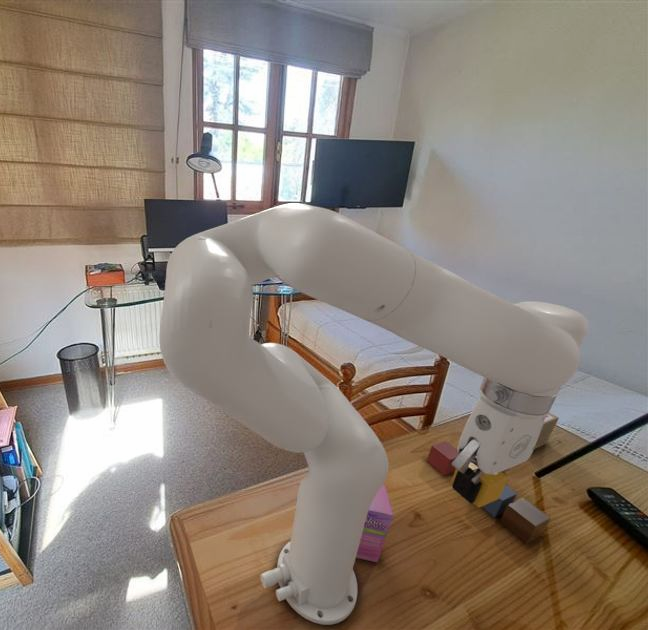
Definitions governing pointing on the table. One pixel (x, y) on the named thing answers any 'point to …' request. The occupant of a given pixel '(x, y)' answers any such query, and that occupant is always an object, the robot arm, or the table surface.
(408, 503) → the table surface
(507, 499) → the cube
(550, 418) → the ink box
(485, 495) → the letter block
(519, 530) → the cube
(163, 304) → the robot arm
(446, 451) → the cube
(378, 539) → the box
